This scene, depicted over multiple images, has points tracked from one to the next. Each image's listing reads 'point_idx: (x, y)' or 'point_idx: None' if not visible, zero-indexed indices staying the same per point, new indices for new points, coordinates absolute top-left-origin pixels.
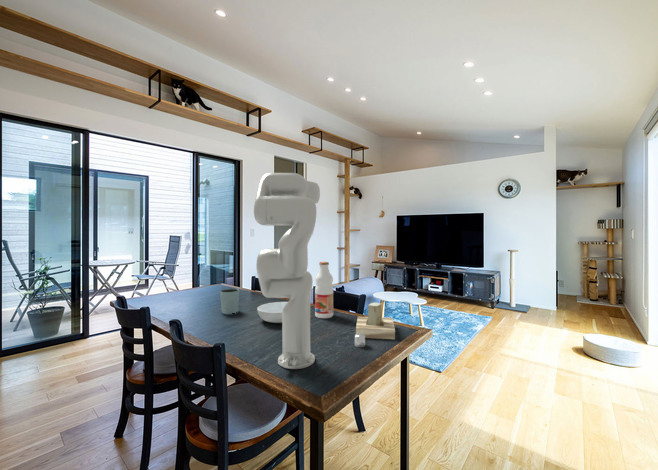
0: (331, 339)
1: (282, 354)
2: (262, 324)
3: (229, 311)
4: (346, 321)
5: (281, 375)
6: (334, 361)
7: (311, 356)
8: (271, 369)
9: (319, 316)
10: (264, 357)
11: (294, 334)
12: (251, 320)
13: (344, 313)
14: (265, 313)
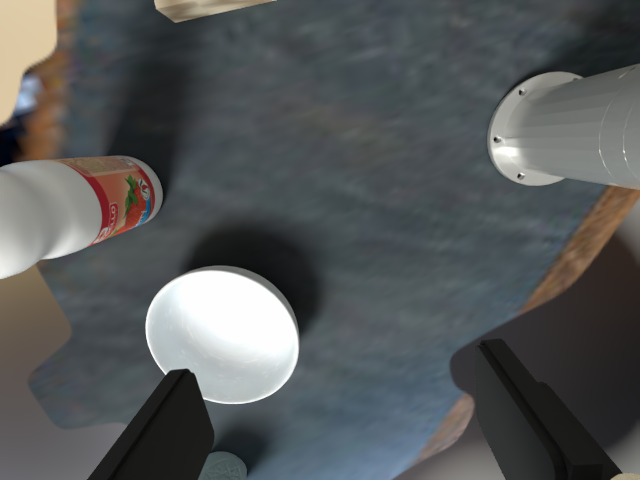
0: (352, 82)
1: (529, 181)
2: None
3: (240, 469)
4: (154, 83)
5: None
6: (528, 10)
7: (533, 88)
8: None
9: (161, 198)
10: (526, 228)
11: None
12: None
13: (64, 121)
14: (298, 354)
